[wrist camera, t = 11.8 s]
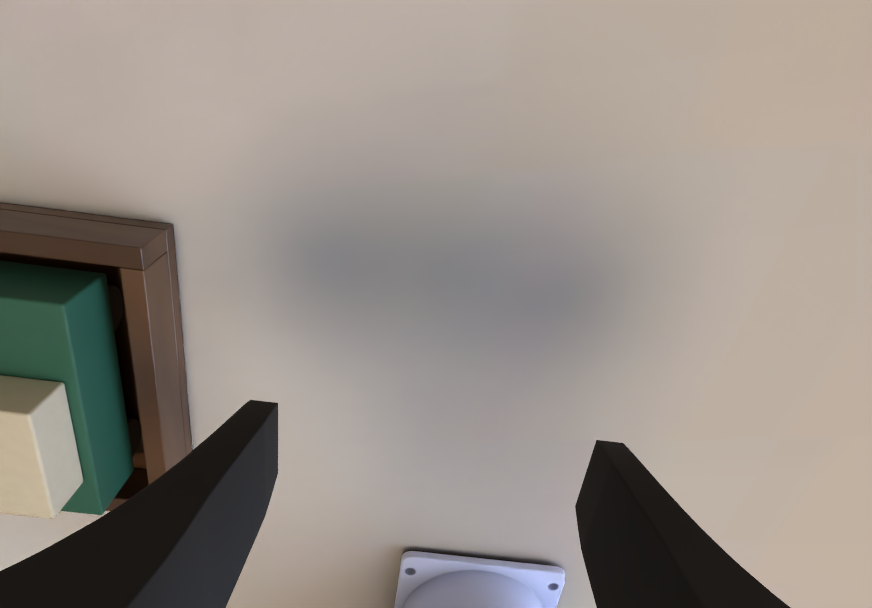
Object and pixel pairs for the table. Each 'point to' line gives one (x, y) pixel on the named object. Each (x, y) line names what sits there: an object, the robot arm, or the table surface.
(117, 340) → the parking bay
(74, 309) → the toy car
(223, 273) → the table surface
